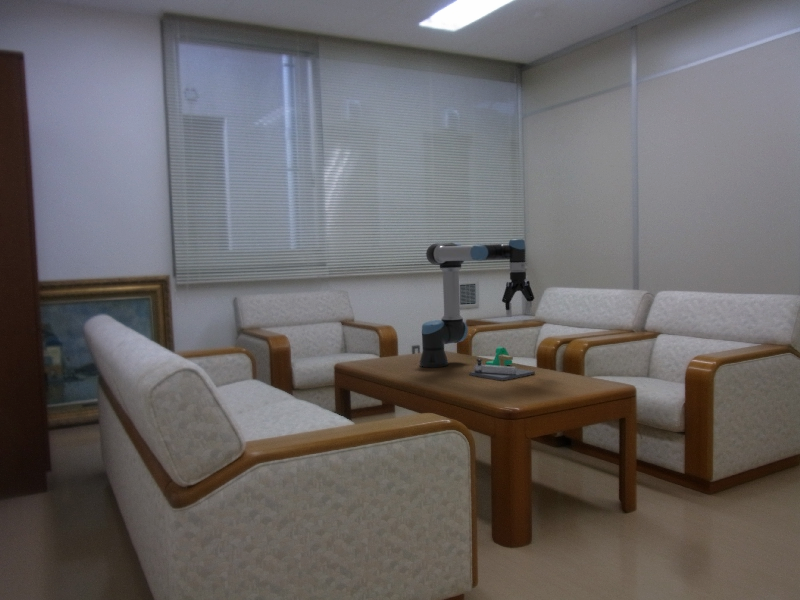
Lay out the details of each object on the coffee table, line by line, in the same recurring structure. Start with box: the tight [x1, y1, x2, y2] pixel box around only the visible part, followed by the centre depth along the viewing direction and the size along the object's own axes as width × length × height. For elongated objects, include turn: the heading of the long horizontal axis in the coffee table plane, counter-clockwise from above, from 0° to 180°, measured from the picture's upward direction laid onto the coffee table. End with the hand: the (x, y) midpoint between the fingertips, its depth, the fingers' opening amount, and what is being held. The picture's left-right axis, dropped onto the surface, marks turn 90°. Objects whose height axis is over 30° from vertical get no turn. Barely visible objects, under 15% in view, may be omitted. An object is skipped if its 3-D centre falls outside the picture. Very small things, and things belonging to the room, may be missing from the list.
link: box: [473, 358, 517, 375], centre depth 314 cm, size 20×5×6 cm, turn 57°
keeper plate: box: [468, 355, 536, 382], centre depth 316 cm, size 22×22×8 cm
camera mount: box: [485, 346, 513, 366], centre depth 342 cm, size 12×8×10 cm, turn 122°
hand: (518, 315), depth 318 cm, fingers open, 13 cm apart
